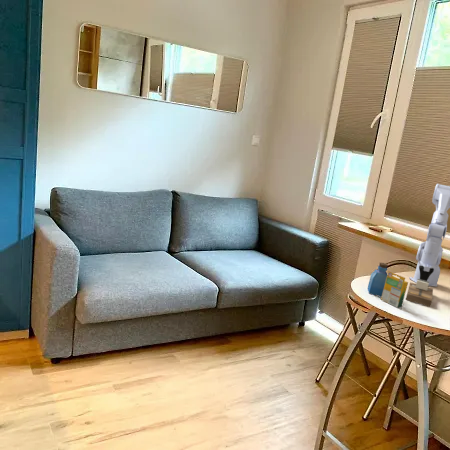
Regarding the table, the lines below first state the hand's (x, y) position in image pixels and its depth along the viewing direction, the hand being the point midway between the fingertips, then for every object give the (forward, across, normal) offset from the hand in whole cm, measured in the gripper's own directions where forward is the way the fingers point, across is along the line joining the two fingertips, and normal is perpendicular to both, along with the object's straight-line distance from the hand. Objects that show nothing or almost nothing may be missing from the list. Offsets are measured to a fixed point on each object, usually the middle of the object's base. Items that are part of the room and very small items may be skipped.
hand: (422, 283), depth 189 cm
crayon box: (+4, -26, +9) cm, 28 cm away
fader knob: (+1, -4, 0) cm, 4 cm away
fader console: (+4, -8, 0) cm, 8 cm away
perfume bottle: (+4, -18, +15) cm, 24 cm away
